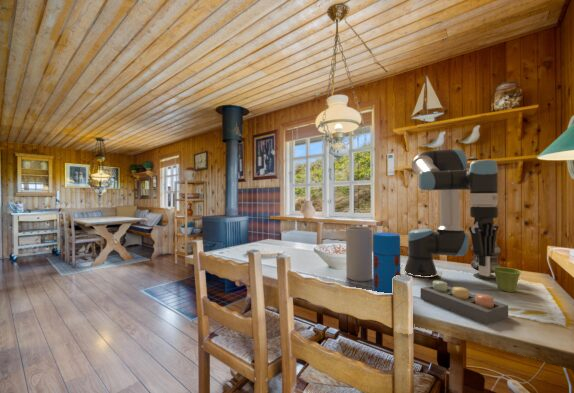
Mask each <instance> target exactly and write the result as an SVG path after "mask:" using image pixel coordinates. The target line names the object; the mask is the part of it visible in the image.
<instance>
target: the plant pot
mask: <svg viewBox="0 0 574 393" xmlns="http://www.w3.org/2000/svg"><path fill="white" fill-rule="evenodd" d="M493 270H494V273H493V274H495V275H494V276H496V280H495V282H496V285H497V287H496V288H497V289H498V290H500V291H503V292H507V293H515V292H517V286H518V281H519V277H520V274H522V271H521V270H518V269H516V268H511V267H507V266H506V267H504V266H501V267H494V268H493Z"/></svg>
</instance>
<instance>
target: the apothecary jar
mask: <svg viewBox="0 0 574 393" xmlns="http://www.w3.org/2000/svg"><path fill="white" fill-rule="evenodd" d="M471 245H472V246H470V249H471V252H473V260H471V262H470V266H471V268H473V270H475V271H478V272H476V273H473V276H474V277H475V278H478V279H481V280H485V281H486V280H487V281H496V276H495V275H494V274H495V273H494V270H493V268H494V267H502V266H501V265H500V264H499V260H498V259H499V256H498V255H499V254H501V252H502V250H501V248H500V247H499V246H498V244H497V242H496V243H495V251H494V254H493V255H494V256H493V257H492V256H490V276H483V275H479V256H478V255H475V254H474V250H473V244H471Z"/></svg>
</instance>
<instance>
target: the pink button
mask: <svg viewBox="0 0 574 393" xmlns="http://www.w3.org/2000/svg"><path fill="white" fill-rule="evenodd" d="M474 295H475V304H476V305H479V306H482V307H484V308H487V309H491V308H494V301H495V300H494V299H495V298H494V297H493V296H491V295H488V294H483V293H477V294H474Z"/></svg>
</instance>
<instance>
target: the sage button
mask: <svg viewBox="0 0 574 393" xmlns="http://www.w3.org/2000/svg"><path fill="white" fill-rule="evenodd" d="M432 285H433V290H436V291H439V292H442V293H443V292H447V286H448V283H447V282H446V281H443V280H433V281H432Z"/></svg>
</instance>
